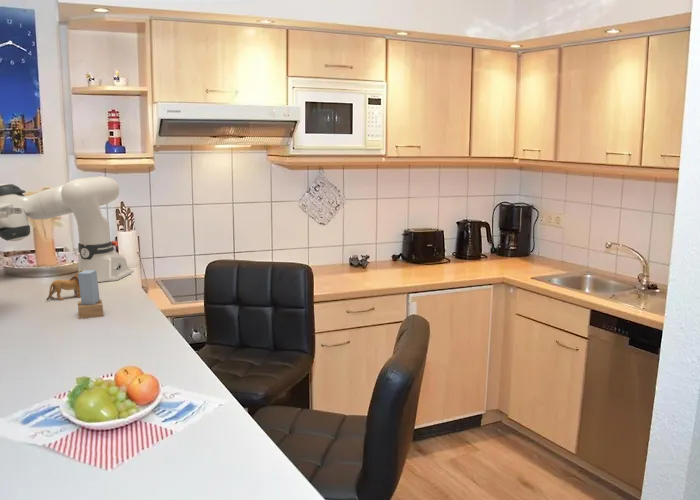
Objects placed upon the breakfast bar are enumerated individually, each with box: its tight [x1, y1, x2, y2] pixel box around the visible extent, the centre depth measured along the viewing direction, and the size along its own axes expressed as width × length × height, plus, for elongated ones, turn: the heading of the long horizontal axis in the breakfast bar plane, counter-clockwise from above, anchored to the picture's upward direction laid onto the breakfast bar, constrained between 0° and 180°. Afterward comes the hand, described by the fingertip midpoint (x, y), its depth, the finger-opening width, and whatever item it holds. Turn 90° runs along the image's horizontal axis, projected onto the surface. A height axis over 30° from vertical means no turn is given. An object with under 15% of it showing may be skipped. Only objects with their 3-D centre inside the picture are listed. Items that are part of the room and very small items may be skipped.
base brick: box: [77, 299, 104, 320], centre depth 206 cm, size 7×7×4 cm
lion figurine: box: [45, 270, 84, 301], centre depth 225 cm, size 15×5×9 cm, turn 132°
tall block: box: [78, 270, 100, 305], centre depth 205 cm, size 4×4×10 cm
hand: (14, 212), depth 202 cm, fingers open, 8 cm apart
